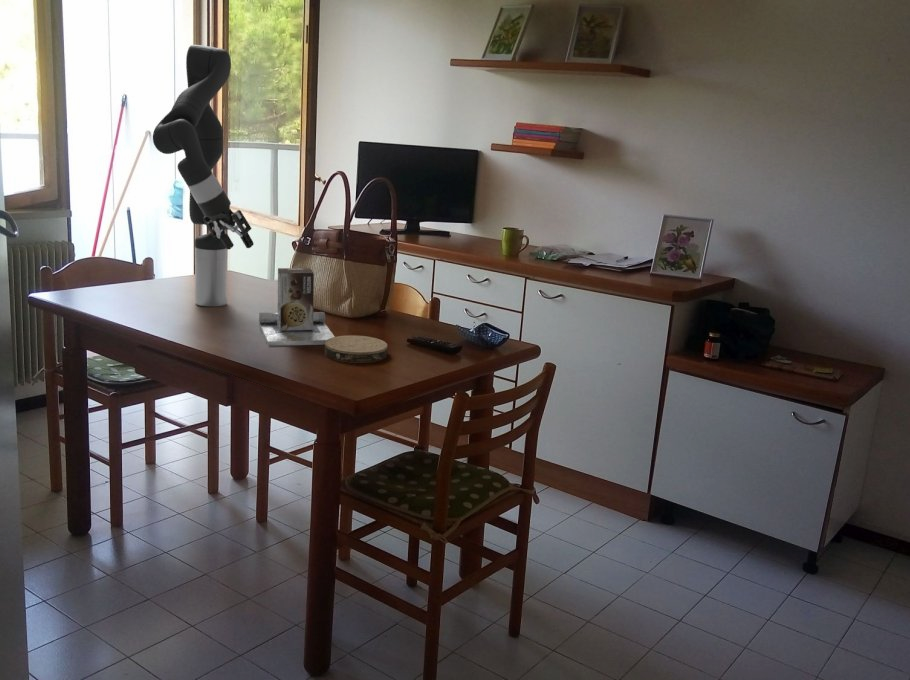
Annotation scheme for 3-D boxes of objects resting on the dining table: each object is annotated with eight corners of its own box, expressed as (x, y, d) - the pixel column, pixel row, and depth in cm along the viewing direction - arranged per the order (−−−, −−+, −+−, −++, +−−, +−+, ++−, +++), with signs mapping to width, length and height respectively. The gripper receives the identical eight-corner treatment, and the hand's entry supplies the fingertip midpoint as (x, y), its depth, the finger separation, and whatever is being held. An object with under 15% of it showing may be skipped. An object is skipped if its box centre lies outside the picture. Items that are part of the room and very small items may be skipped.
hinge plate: (258, 326, 233) (259, 311, 232) (322, 325, 239) (323, 311, 238) (268, 345, 215) (268, 330, 213) (337, 344, 221) (337, 328, 220)
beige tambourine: (343, 343, 224) (344, 332, 223) (397, 353, 218) (397, 341, 217) (312, 356, 209) (312, 345, 208) (368, 367, 204) (369, 356, 203)
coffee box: (309, 324, 233) (311, 267, 229) (313, 330, 227) (315, 272, 223) (276, 325, 230) (277, 267, 226) (279, 331, 224) (280, 272, 220)
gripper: (235, 184, 212) (266, 238, 220) (202, 189, 221) (233, 240, 229) (216, 200, 207) (248, 254, 216) (182, 204, 216) (214, 256, 224)
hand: (240, 247), depth 222 cm, fingers open, 8 cm apart
